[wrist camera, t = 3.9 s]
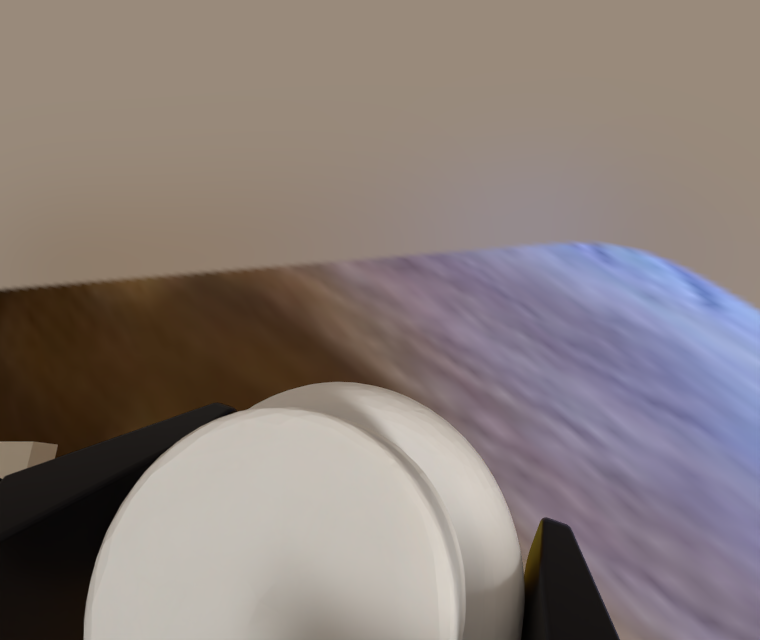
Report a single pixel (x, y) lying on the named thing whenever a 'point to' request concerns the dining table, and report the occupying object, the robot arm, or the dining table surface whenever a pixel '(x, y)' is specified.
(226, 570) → the supplement bottle
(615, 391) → the dining table surface
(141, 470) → the robot arm
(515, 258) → the dining table surface
